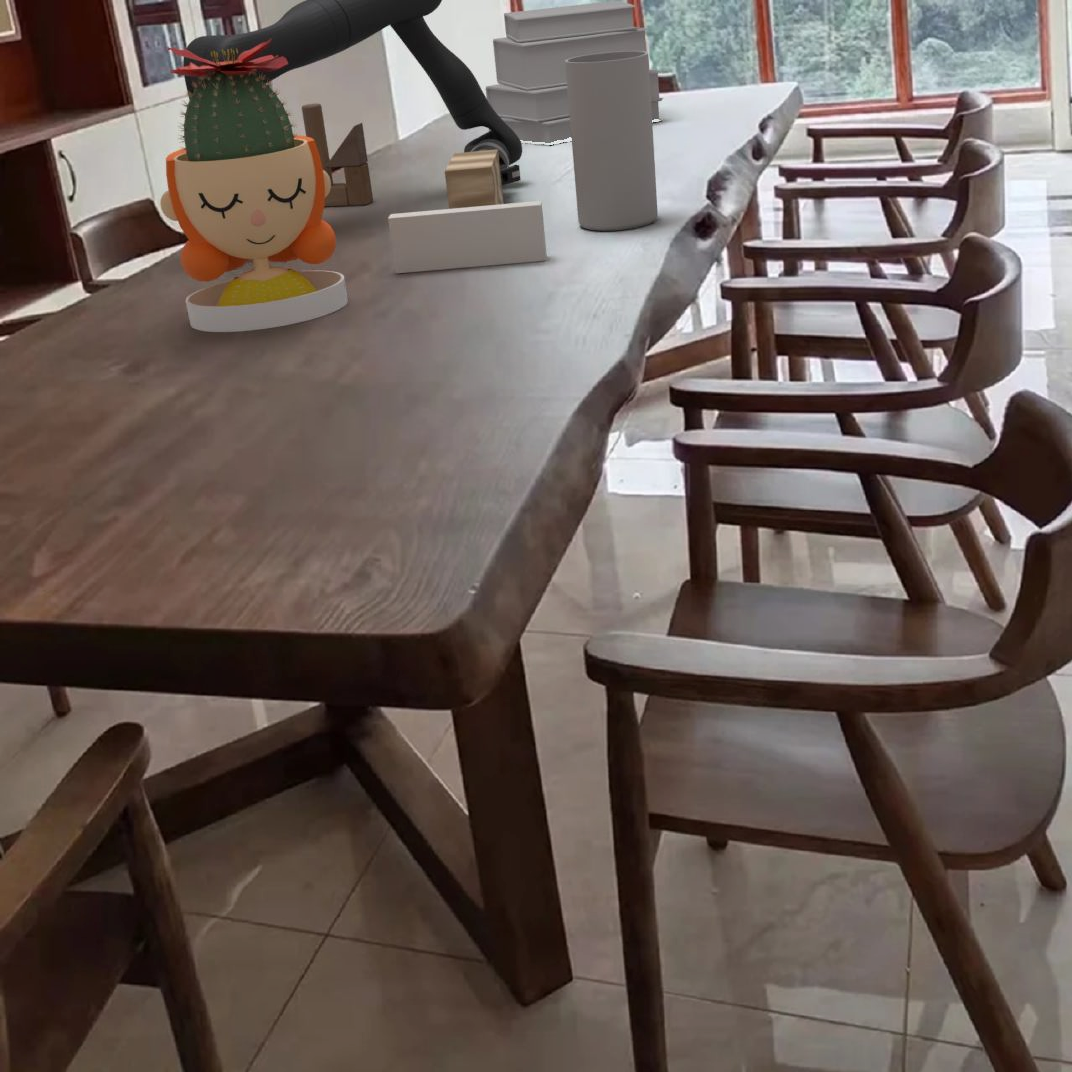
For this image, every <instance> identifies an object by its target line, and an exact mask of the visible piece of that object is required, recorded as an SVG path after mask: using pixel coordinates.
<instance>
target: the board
mask: <svg viewBox="0 0 1072 1072" xmlns="http://www.w3.org/2000/svg"><path fill="white" fill-rule="evenodd" d="M387 221H388V227H389V228H388V229H389V236H390V243H391V250H392V255H393V256H392V257H393V265H394V271H395V274H405V273H406V274H407V273H415V272H416V273H417V272H418V273H419V272H427V271H440V270H452V269H464V268H465V269H466V268H475V267H486V266H498V265H499V266H500V265H509V264H519V263H520V264H521V263H522V264H523V263H532V262H534V263H535V262H545V261H547V256H548V255H547V244H546V234H545V225H544V213H543V202H542V200H537V201H536V200H535V201H534V200H533V201H524V202H511V203H503V204H499V205H488V206H477V207H466V208H454V209H449V208H448V209H447V208H445V209H434V210H423V211H412V212H403V213H402V212H399V213H390V215H389V216H388V217H387Z"/></svg>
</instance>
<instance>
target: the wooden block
mask: <svg viewBox="0 0 1072 1072" xmlns="http://www.w3.org/2000/svg"><path fill="white" fill-rule="evenodd" d="M301 112H302V113H301V114H302V119H303V124H304V125H303V126H304V131H305V136H307V137H310V138H312V139H313V140H315V143H316V146H317V149H318V152H319V155H320V159H321V164H322V168H323V170H324V171H325V172H326V173H327V174H328V175H329V177H330V180H331V189H330V192H329V194H328V196H327V197H325V206H324V208H325V207H345V206H346V207H347V206H350V207H356V206H357V207H358V206H367V205H369V204H370V203H373V201H374V196H373V190H372V184H371V175H370V168H369V163H368V161H369V160H368V155H367V147H366V140H365V133H364V126H363V125H364V124H363V122H360V123H358V124H355V125H354V126H353V127H352V128H351V130H350V131H349V133H348V134H347V135H346V137H344V139H343V141H342V142H341V143H340V145H339V147H337V150H336V151H335V152H334V153H333V155H332V156H331V158H330V154H329V146H328V141H327V134H326V127H325V121H324V115H323V114H324V113H323V107H322V105H321V103H318V102H317V103H307V104H304V105H302V106H301ZM336 167H337V168H339V167H343V171H344V172H343V173H344V178H345V183H344V182H338V183H337V182H336V183H334V180H333V172H332V168H336Z"/></svg>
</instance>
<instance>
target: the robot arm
mask: <svg viewBox="0 0 1072 1072" xmlns="http://www.w3.org/2000/svg"><path fill="white" fill-rule="evenodd" d="M442 1H443V0H303V1H301V2H299V3H298V4H296V5H294V6H293V7H291V8H290V9H289V10H287V11H286V12H285V13H284V14H283V16H281V18H280V19H279V20H278V21H276V22H275V23H273V24H271V25H268V26H266V27H264V28H263V27H262V28H260V29H257V30H253V31H249V32H244V33H239V34H219V35H218V34H217V35H201V36H198V37H196V38H194V39H193V40H192V41H191V42H189V44H188V45H187V46H186V48H185V49H187V50H188V51H190V52H192V53H193V54H195V55H197V56H198V57H200V58H203V59H206V60H209V61H212V62H215V63H218V61H219V62H224V60H225V62H226V61H232V56H233V62H234V56H235V61H236V60H237V59H238V57H239V55H240V54H241V53H243V52H244V51H248V50H251V49H253V48H254V47H256V46H258V45H259V44H261V43H263V42H267V41H268V40H269V39H271V41H272V42H271V43H270V45H269V46H268V47H267V48H266V49H265V50H264V51H262V52H261V53H260V54H259V55H257V56H255V57H254V58H252V59H250V60H248V61H246V62H249V61H252V60H254V59H257V58H260V57H264V56H268V55H273V57H274V58H275V57H276V56H277V55H278V58H279V57H282V56H283V57H285V58H286V59H287V62H288V65H285V66H284V67H282V68H280V69H277V70H274V71H270V72H269V71H263V70H260V69H258V70H257V68H256V70H255V71H253V72H254V73H255V74H256V75H255V74H254V75H255V76H256V77H258V76H259V75H260V76H262V77H263V76H265V77H264V80H262V81H263V82H264V83H266V84H267V81H268V83H270V82H269V81H271V82H273V81H274V80H275V79H278V78H279V77H280V76H283V74H286V73H287V72H290V71H293V70H297V69H299V68H303V67H306V66H310V65H312V64H314V63H317V62H319V61H322V60H325V59H327V58H329V57H331V56H334V55H337V54H339V53H341V52H344V51H345V50H347V49H350V48H351V47H353V46H355V45H357V44H360V43H361V42H363V41H365V40H367V39H368V38H370V37H372V36H374V35H375V34H377V33H379V32H380V31H382V30H383V29H385V28H387V27H388V26H389V27H390V28H391V29H392V30H393V31H394V32H395V34H396V36H398V38H399V39H400V40H401V42H402V43H403V44H404V46H405V48H406V49H408V51H409V52H410V53H411V55H412V56H413V57H414V59H416V61H417V63H418V64H419V66H421V68H422V69H423V71H424V72H425V74H426V75H427V77H428V78H429V79H430V81H431V83H432V84H433V86H434V88H435V89H436V91H437V93H438V94H439V96H440V98H441V100H442V102H443V103H444V106H445V107H446V109H447V110H448V112H449V115H450V116H451V118H452V120H453V121H454V123H455V125H456V126H457V128H459V129H460V130H463V131H465V130H466V131H467V130H471V129H475V128H479V127H480V128H481V127H483V128H484V127H485V128H487V129H488V131H487V132H485V133H483V134H482V135H480V136H478V137H476V138H474V139H472V140H471V141H469V142H468V143H467V144H466V145H465V146H464V148H463V153H465V152H476V151H486V150H497V149H498V156H499V165H500V175H501V185H502V187H503V186H506V185H510V184H513V183H517V182H520V181H522V180H521V169H520V164H519V165H518V164H515V163H517V162H519V160H520V159H521V157H522V155H523V145H522V144H523V143H521V141H520V139H519V138H518V136H517V135H516V134H515V132H514V131H513V130H512V129H511V128H510V127H509V126H508V125H507V124H506V123H505V122H504V121H503V120H502V119H501V118H500V117H499V116H498V114H497V113H496V112H495V111H494V110H493V108H492V107H491V105H490V104H489V102H488V100H487V98H486V94H485V93H484V91H483V90H482V87H481V86H480V84H479V81H478V80H477V79H476V76H475V75H474V73H473V71H472V70H471V69H470V68H469V67H468V66H467V65H466V64H465V62H463V61H462V60H461V59H460V58H459V57H458V56H457V55H456V54H455V53H454V52H452V51H451V49H449V48H448V47H447V46H446V45H444V43H443V42H442V41H441V40H439V38H438V37H437V36H436V35H435V34H434V33H433V31H432V30H431V28H430V27H429V25H428V24H427V22H426V20H425V18H424V17H427V16H428V15H430V14H433V12H435V11H436V10H437V9H438V8H439V6H440V5H441V3H442ZM236 48H237V50H238V53H237V51H236ZM222 49H223V52H224V51H225V53H226V57H225V55H224V54H223V53H222ZM231 49H232V53H231ZM228 50H229V60H228V53H227V51H228ZM233 50H234V53H235V54H233ZM214 51H215V54H216V52H217V53H218V59H216V58H217V55H216V57H215V56H214V53H213V52H214ZM211 52H212V55H213V56H211ZM223 55H224V56H223ZM212 58H213V59H212ZM215 59H216V60H215ZM213 60H214V61H213ZM217 60H218V61H217ZM182 61H183V63H182V67H186V66H189V65H190V62H191V63H193V64H195V65H196V66H198V67H200V66H203V65H204V66H208V65H205V64H203V63H201V62H198V61H196V60H194V59H190V58H187V57H183V60H182ZM216 61H217V62H216ZM253 69H255V68H253ZM206 72H210V71H206ZM253 72H252V73H253ZM212 73H213V72H210V73H208V74H207V75H208V76H209V75H210V74H212ZM214 73H215V72H214ZM183 76H184V82H185V86H186V87H185V88H186V92H187V91H188V92H190V93H191V94H193V92H194V91H195V89H196V88H195V86H194V85H195V84H194V83H196V84H197V85H196V86H198V85H199V84H200V83H201V82H202V80H201V79H200V78H198V77H201V76H186V75H183ZM205 76H206V75H205ZM205 76H203V77H205ZM206 77H207V76H206ZM206 77H205V78H206ZM205 78H203V79H205ZM258 78H259V77H258ZM265 78H266V79H265ZM262 79H263V78H262ZM200 80H201V81H200ZM194 81H195V82H194ZM199 81H200V82H199ZM193 82H194V83H193ZM197 82H198V83H199V84H198V83H197ZM192 84H193V85H192ZM192 86H193V87H192ZM193 89H194V90H193ZM189 90H190V91H189ZM188 92H187V93H188ZM188 94H189V93H188ZM188 94H187V97H188V101H189V100H190V98H191V97H189V95H188ZM489 129H490V130H491V131H489Z"/></svg>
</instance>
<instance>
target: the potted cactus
mask: <svg viewBox="0 0 1072 1072" xmlns="http://www.w3.org/2000/svg"><path fill="white" fill-rule="evenodd" d="M271 42H272V41H271V39H269V40H268V41H267V42H263V43H261V44H259V45H258V46H256V47H254V48H253V49H251V50H248V51H244V52H243V53H241V54H240V55H239V57H238V59H237V60H236V61H235V56H234V62H233V56H232V61H226V62H225V60H224V62H219V61H218V60H217V61H218V63H215V62H212V61H209V60H206V59H203V58H200V57H198V56H197V55H195V54H193V53H192V52H190V51H188V50H187V49H186V48H185V49H179V48H176V47H169V46H168V47H167V49H166V51H167V52H168V51H172V53H173V54H174V55H176V56H180V57H183V58H184V57H187V58H190V59H194V60H196V61H198V62H201V63H203V64H205V65H208V66H204V65H203V66H200V67H198V66H196V65H195V64H193V63H191V62H190V65H189V66H186V67H183V66H181V67H178V68H176V69H171V70H170V72H171V73H172V74H174V75H175V74H176V75H180V76H184V75H186V76H201V77H198V78H200V79H201V80H202V82H201V83H200V84H199V83H198V82H197V83H198V84H199V85H198V86H196V85H197V84H196V83H194V82H195V81H194V82H193V83H194V84H195V85H194V86H195V88H196V89H195V91H194V92H193V94H191V93H190V92H188V91H187V90H186V91H185V94H184V95H186V96H188V95H189V96H188V98H189V97H191V98H190V100H189V99H188V103H187V102H186V101H185V100H182V102H184V104H183V103H180V105H182V106H183V108H186V110H185V111H186V112H184V111H183V110H181V111H180V110H179V115H180V118H184V121H183V123H181V122H179V124H181V126H182V127H180V129H182V130H179V132H183V135H180V134H177V136H179V137H177V140H182V141H179V142H178V143H184V146H185V147H183V146H181V148H180V149H178V150H176V151H173V152H171V153H169V154H168V155H167V156H166V157H165V177H166V182H167V190H166V191H165V192H164V193H162V195H161V198H160V204H159V205H160V208H161V211H162V213H163V214H164V216H165V217H166V218H167V219H169V220H170V221H172V222H173V221H174V222H177V223H178V224H179V227H180V229H181V230H182V231H183V232H182V233H184V235H185V236H186V238H187V239H188V240H187V241H186V242H185V244H184V245H183V247H182V249H181V253H180V264H181V267H182V269H183V271H184V272H185V273H186V274H187V275H188V276H189V277H190V278H191V279H192V280H193V279H194V280H195V281H198V282H206V283H207V282H211V281H216V280H217V279H219V278H220V277H222V276H223V275H224V274H225V273H227V272H231V271H232V272H233V271H235V270H238V269H240V268H242V267H243V266H245V265H246V264H247V263H249V261H250V260H252V264H253V269H251V270H248V271H245V272H243V273H242V274H240V275H239V276H235V277H233V279H231V280H228V281H223V282H220V283H217V284H213V285H209V286H206V287H204V288H201V289H199V290H197V291H195V292H192V293H190V294H189V295H187V296H186V298H185V305H186V311H187V314H188V320H189V324H190V325H189V326H190V327H191V329H192V328H193V329H195V330H197V331H201V332H209V333H210V332H211V333H234V332H235V333H236V332H246V331H247V332H248V331H255V330H256V331H257V330H265V329H271V328H278V327H283V326H289V325H293V324H294V325H295V324H299V323H302V322H306V321H310V320H314V319H317V318H318V319H319V318H320V317H325V316H327V315H330V314H332V313H334V312H337V311H338V310H341V309H342V308H344V307H345V306H347V304H348V301H349V300H348V294H347V293H348V292H347V287H346V282H345V281H346V280H345V276H344V274H342V273H341V272H337V271H332V270H323V269H321V270H319V269H318V270H315V269H312V270H311V269H310V270H308V269H307V270H306V269H304V270H295V269H294V268H285V267H282V266H270V262H274V263H283V262H291V261H296V260H299V259H300V261H302V262H303V263H306V264H309V265H319V264H323V263H325V262H327V261H328V260H330V259H331V258H332V256H333V255H334V253H335V250H336V247H337V237H336V234H335V231H334V230H333V228H332V226H331V225H330V224H329V223H328V222H326V220H324V219H322V217H323V213H324V210H325V207H324V206H325V197H327V196H328V194H329V192H330V189H331V180H330V177H329V175H328V174H327V173H326V172H325V171H324V170H323V168H322V164H321V159H320V155H319V152H318V149H317V146H316V143H315V140H313V139H312V138H310V137H307V136H306V135H300V133H295V131H293V128H298V126H297V124H295V123H296V121H294V120H292V121H291V120H290V119H289V117H293V115H294V114H295V113H293V112H291V111H290V109H289V110H288V109H285V107H284V106H285V105H287V101H286V100H287V98H286V99H285V98H284V100H282V97H280V98H279V97H278V95H280V94H281V89H280V88H277V89H276V88H274V89H272V88H270V87H271V86H273V85H274V84H273V82H272V81H269V83H268V81H267V84H266V83H264V82H263V81H262V80H264V77H265V76H263V77H262V76H260V75H259V76H258V77H259V78H258V77H256V76H255V75H256V74H255V73H254V72H253V71H255V70H256V68H257V70H258V69H260V70H263V71H269V72H270V71H274V70H277V69H280V68H282V67H284V66H285V65H288V62H287V59H286V58H285V57H283V56H282V57H279V58H278V55H277V56H276V57H275V58H274V57H273V55H268V56H264V57H260V58H257V59H254V60H252V61H249V62H246V61H248V60H250V59H252V58H254V57H255V56H257V55H259V54H260V53H261V52H262V51H264V50H265V49H266V48H267V47H268V46H269V45H270V43H271ZM236 51H237V53H238V50H237V48H236ZM213 53H214V56H215V57H216V55H217V58H216V59H218V53H217V52H216V54H215V51H214V52H213ZM222 53H223V54H224V55H225V57H226V53H225V51H224V52H223V49H222ZM227 53H228V60H229V50H228V51H227ZM231 53H232V49H231ZM233 54H235V53H234V50H233ZM224 55H223V56H224ZM211 56H213V55H212V52H211ZM212 59H213V58H212ZM216 59H215V60H216ZM213 61H214V60H213ZM217 61H216V62H217ZM253 68H255V69H253ZM206 71H210V72H213V73H212V74H210V75H209V76H208V75H207V74H208V73H210V72H206ZM214 72H215V73H214ZM252 72H253V73H252ZM254 74H255V75H254ZM205 75H206V76H207V77H206V76H205ZM203 76H205V77H206V78H205V77H203ZM203 78H205V79H203ZM262 78H263V79H262ZM265 79H266V78H265ZM201 80H200V81H201ZM200 81H199V82H200ZM192 85H193V84H192ZM192 87H193V86H192ZM275 89H276V90H275ZM193 90H194V89H193ZM189 91H190V90H189ZM188 93H189V94H188ZM177 128H179V125H177Z"/></svg>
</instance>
